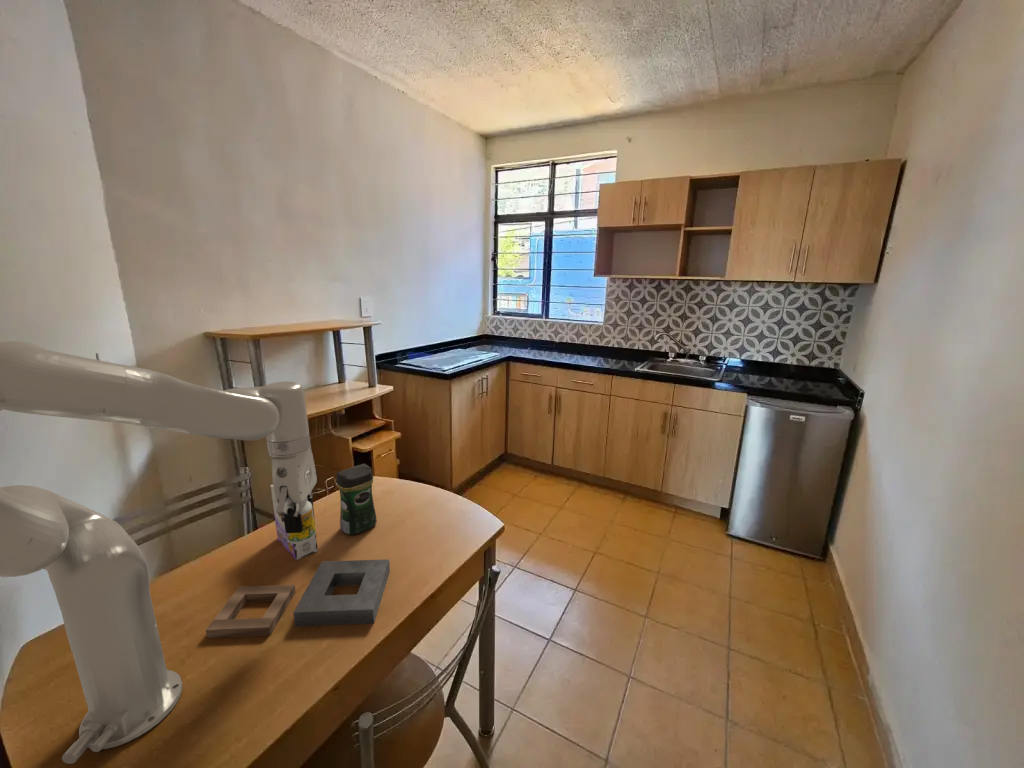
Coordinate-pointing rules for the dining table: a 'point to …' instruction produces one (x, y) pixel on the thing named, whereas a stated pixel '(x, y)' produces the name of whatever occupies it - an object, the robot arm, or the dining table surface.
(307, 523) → the supplement bottle
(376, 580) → the block
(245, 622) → the walnut frame
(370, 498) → the coffee jar
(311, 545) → the candy box
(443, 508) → the dining table surface
